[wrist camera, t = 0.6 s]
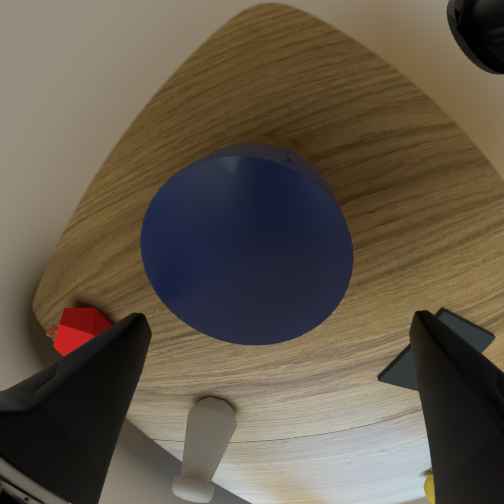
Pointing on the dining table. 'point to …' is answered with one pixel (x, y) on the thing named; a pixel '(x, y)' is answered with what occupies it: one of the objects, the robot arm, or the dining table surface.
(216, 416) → the salt shaker
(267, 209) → the jar lid
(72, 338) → the apple
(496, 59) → the robot arm
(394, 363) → the mat
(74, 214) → the dining table surface
